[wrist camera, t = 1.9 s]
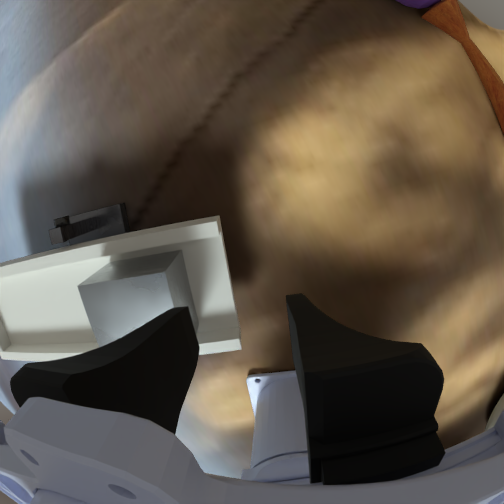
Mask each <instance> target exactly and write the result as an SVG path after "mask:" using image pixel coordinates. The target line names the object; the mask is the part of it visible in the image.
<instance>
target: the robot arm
mask: <svg viewBox="0 0 504 504" xmlns="http://www.w3.org/2000/svg"><path fill="white" fill-rule="evenodd" d="M286 303H287V311H288V319H289V328H290V336H291V345H292V354H293V361H294V366H295V370H294V371H285V372H276V373H265V374H253V375H249V376H248V377H247V380H246V382H247V386H248V390H249V395H250V399H251V403H252V408H253V412H254V416H255V425H254V436H253V446H252V457H251V467H250V469H243V470H242V477H241V479H236V478H230V477H224V476H218V475H213V474H207V473H205V472H203V470H202V469H201V468H200V466H199V464H198V463H197V461H196V459H195V457H194V456H193V454H192V452H191V451H190V450H189V449H188V448H187V447H186V446H185V445H184V444H183V443H182V442H181V441H180V440H179V439H178V438H177V437H176V436H175V433H176V428H177V423H178V419H179V415H180V411H181V408H182V405H183V402H184V400H185V397H186V394H187V392H188V389H189V386H190V383H191V381H192V378H193V375H194V372H195V369H196V366H197V361H198V356H199V350H200V347H199V343H198V340H197V336H196V333H195V329H194V326H193V322H192V318H191V315H190V311H189V307H188V306H184V307H174V308H171V309H169V310H167V311H165V312H164V313H162V314H160V315H159V316H157V317H155V318H154V319H152V320H151V321H149V322H147V323H146V324H144V325H142V326H141V327H139V328H137V329H135V330H134V331H132V332H130V333H128V334H127V335H125V336H123V337H121V338H119V339H117V340H115V341H113V342H111V343H109V344H106V345H104V346H102V347H99V348H96V349H93V350H90V351H87V352H84V353H82V354H78V355H75V356H71V357H66V358H62V359H57V360H51V361H43V362H35V363H27V364H25V365H24V366H23V367H22V368H21V369H20V370H19V371H18V372H17V373H16V374H15V375H14V376H13V377H12V378H11V381H10V385H11V391H12V393H13V396H14V398H15V400H16V402H17V403H18V405H19V407H20V409H19V410H18V411H17V412H16V414H15V415H14V416H13V417H12V419H10V421H9V422H8V423H7V424H6V426H5V424H4V423H3V422H2V421H1V420H0V490H1V491H2V492H4V493H5V494H6V495H7V496H9V497H10V498H12V499H13V500H14V501H16V502H17V503H19V504H504V410H503V411H502V412H501V413H500V415H499V417H498V418H497V421H496V423H495V426H494V427H492V428H490V429H489V430H487V431H485V432H483V433H481V434H479V435H477V436H475V437H472V438H470V439H468V440H466V441H464V442H462V443H459V444H457V445H455V446H452V447H450V448H448V449H445V450H444V448H443V446H442V444H441V442H440V440H439V437H438V435H437V433H436V431H437V430H438V423H437V421H436V419H435V417H434V414H435V411H436V408H437V405H438V402H439V399H440V396H441V393H442V390H443V383H444V377H443V372H442V370H441V368H440V367H439V365H438V364H437V362H436V361H435V359H434V358H433V357H432V355H431V354H430V353H429V352H428V350H427V349H426V348H425V347H424V346H423V345H422V344H421V343H410V342H398V341H391V340H386V339H381V338H377V337H373V336H369V335H366V334H363V333H360V332H357V331H355V330H352V329H350V328H348V327H346V326H344V325H342V324H340V323H338V322H336V321H335V320H333V319H331V318H330V317H328V316H327V315H325V314H324V313H323V312H322V311H320V310H319V309H318V308H317V307H316V306H314V305H313V304H312V303H311V302H310V301H309V300H308V299H307V298H306V297H305V296H304V295H303V294H302V293H301V294H293V295H286ZM256 379H260V380H256Z"/></svg>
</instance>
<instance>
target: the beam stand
mask: <svg viewBox="0 0 504 504" xmlns="http://www.w3.org/2000/svg"><path fill="white" fill-rule="evenodd" d="M54 224H55V229H52V230H49V234H50V238H51V243H52V245H53V244H57V243H61V242H65V241H67V240H69V243H70V245H74V244H79V243H83V242H87V241H92V240H96V239H101V238H105V237H110V236H115V235H119V234H124V233H129V232H130V229H129V224H128V219H127V214H126V209H125V204H124V203H121V204H117V205H113V206H109V207H105V208H101V209H97V210H93V211H90V212H86V213H82V214H79V215H75V216H71V217H69V216H65V217H62V218H58V219H55V220H54Z"/></svg>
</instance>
